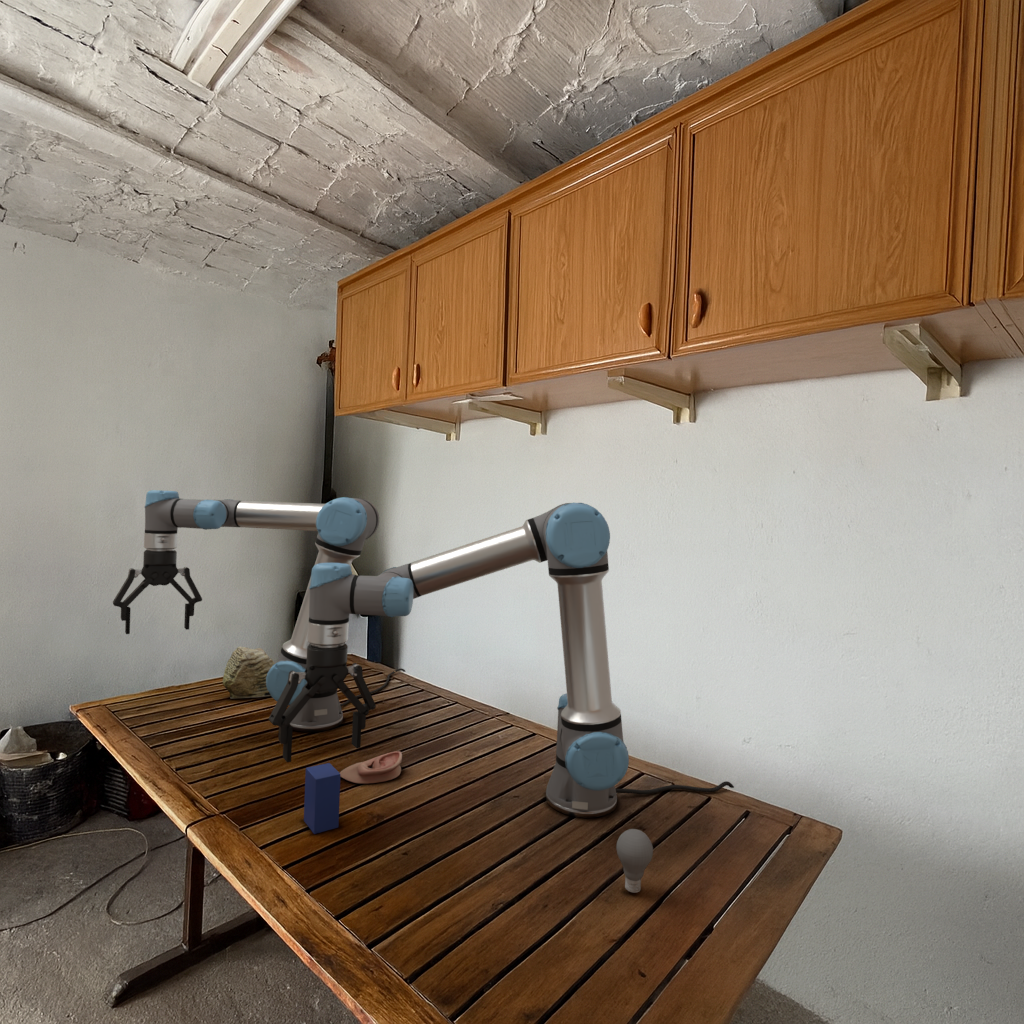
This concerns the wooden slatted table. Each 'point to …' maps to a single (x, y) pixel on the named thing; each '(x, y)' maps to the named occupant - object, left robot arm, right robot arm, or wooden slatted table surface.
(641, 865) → the light bulb
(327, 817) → the brick
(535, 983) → the wooden slatted table surface
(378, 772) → the anatomical model
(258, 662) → the fossil
